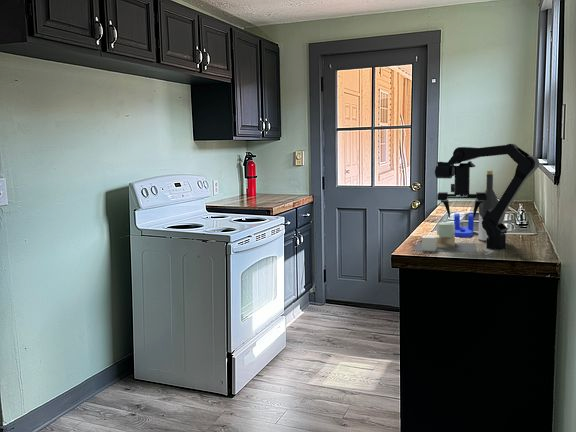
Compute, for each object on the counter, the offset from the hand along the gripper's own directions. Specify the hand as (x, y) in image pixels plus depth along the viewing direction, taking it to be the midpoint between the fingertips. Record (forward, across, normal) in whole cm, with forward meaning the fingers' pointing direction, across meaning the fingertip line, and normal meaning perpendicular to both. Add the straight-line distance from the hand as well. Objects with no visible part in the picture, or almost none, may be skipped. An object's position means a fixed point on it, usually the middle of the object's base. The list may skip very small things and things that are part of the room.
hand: (461, 217), depth 219 cm
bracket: (+12, -1, -33) cm, 36 cm away
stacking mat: (+12, +6, +6) cm, 15 cm away
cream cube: (+11, +12, +12) cm, 20 cm away
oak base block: (+11, +6, +4) cm, 13 cm away
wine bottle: (+12, -11, -12) cm, 20 cm away
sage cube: (+7, +6, +4) cm, 10 cm away
